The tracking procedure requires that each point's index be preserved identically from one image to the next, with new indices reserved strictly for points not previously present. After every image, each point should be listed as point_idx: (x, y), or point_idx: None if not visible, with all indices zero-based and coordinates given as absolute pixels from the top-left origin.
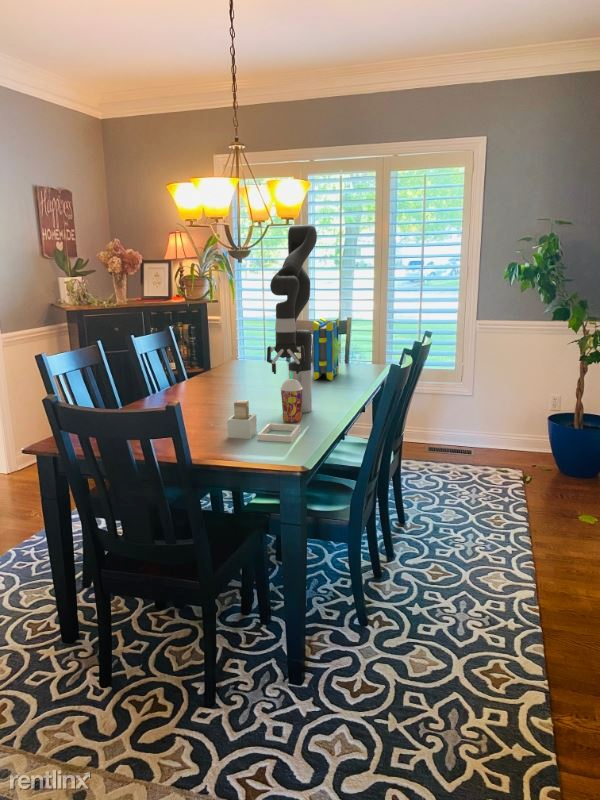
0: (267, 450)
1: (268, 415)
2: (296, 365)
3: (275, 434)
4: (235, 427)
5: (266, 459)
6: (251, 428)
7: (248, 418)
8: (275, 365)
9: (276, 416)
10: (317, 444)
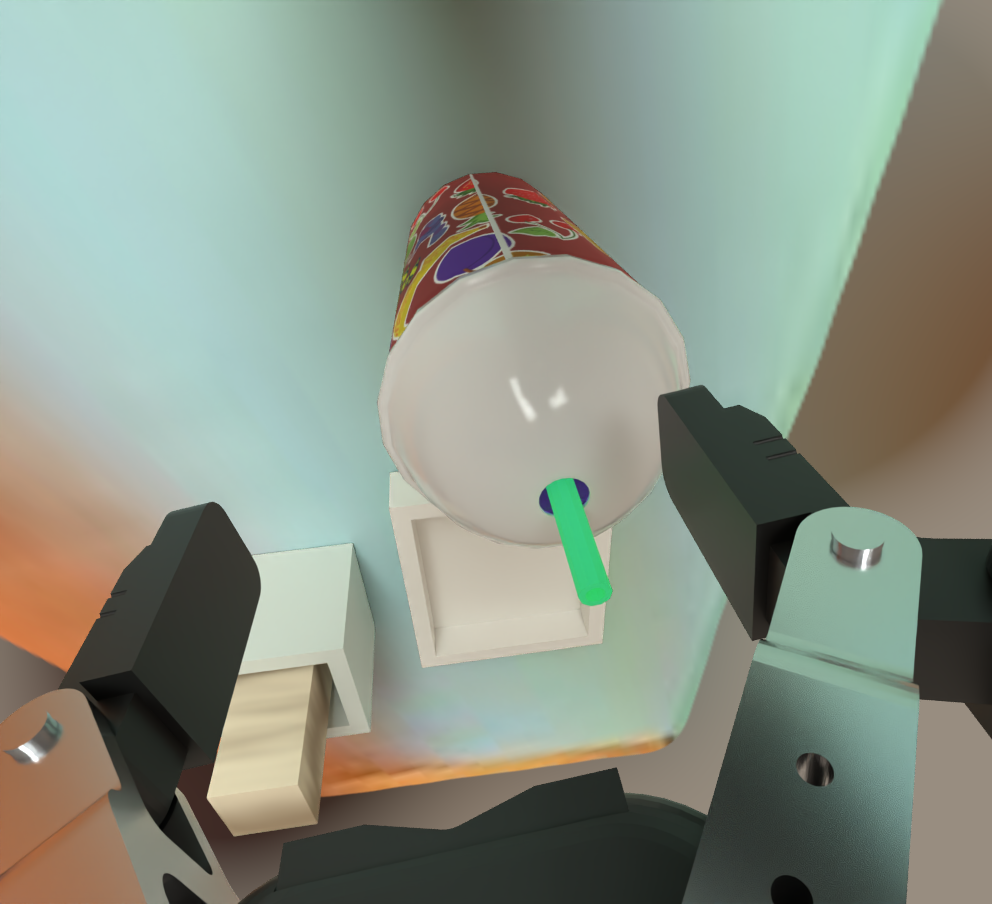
0: (504, 679)
1: (116, 4)
2: (744, 614)
3: (514, 646)
4: None
5: (533, 734)
6: (366, 660)
7: (317, 672)
8: (212, 725)
9: (231, 30)
10: (711, 573)
